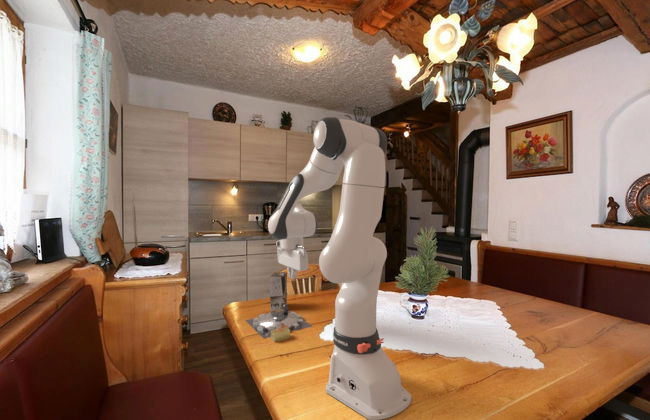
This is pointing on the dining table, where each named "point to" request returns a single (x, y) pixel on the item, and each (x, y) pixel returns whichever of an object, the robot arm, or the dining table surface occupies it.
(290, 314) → the sprocket
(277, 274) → the coffee box
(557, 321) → the dining table surface
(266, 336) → the base plate
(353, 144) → the robot arm
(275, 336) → the brass link
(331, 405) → the dining table surface
